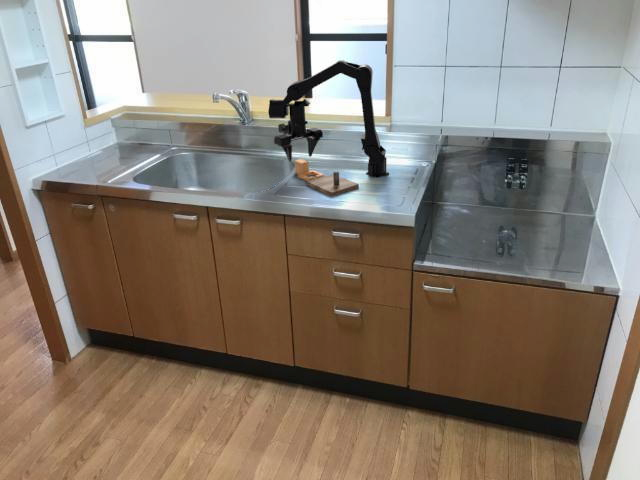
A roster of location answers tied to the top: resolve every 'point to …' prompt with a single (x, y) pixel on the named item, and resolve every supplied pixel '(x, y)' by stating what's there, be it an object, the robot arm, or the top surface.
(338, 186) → the post stand
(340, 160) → the top surface
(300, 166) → the ring link
